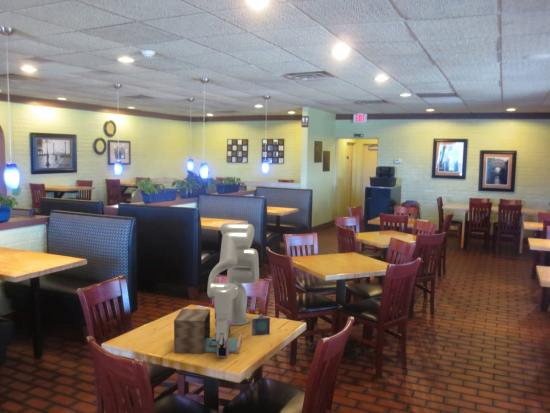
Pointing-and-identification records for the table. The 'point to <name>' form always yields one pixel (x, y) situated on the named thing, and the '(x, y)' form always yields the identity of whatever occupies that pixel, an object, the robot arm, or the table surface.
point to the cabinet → (191, 330)
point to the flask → (260, 325)
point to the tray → (233, 344)
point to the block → (226, 349)
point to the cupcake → (229, 324)
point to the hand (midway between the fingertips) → (223, 352)
